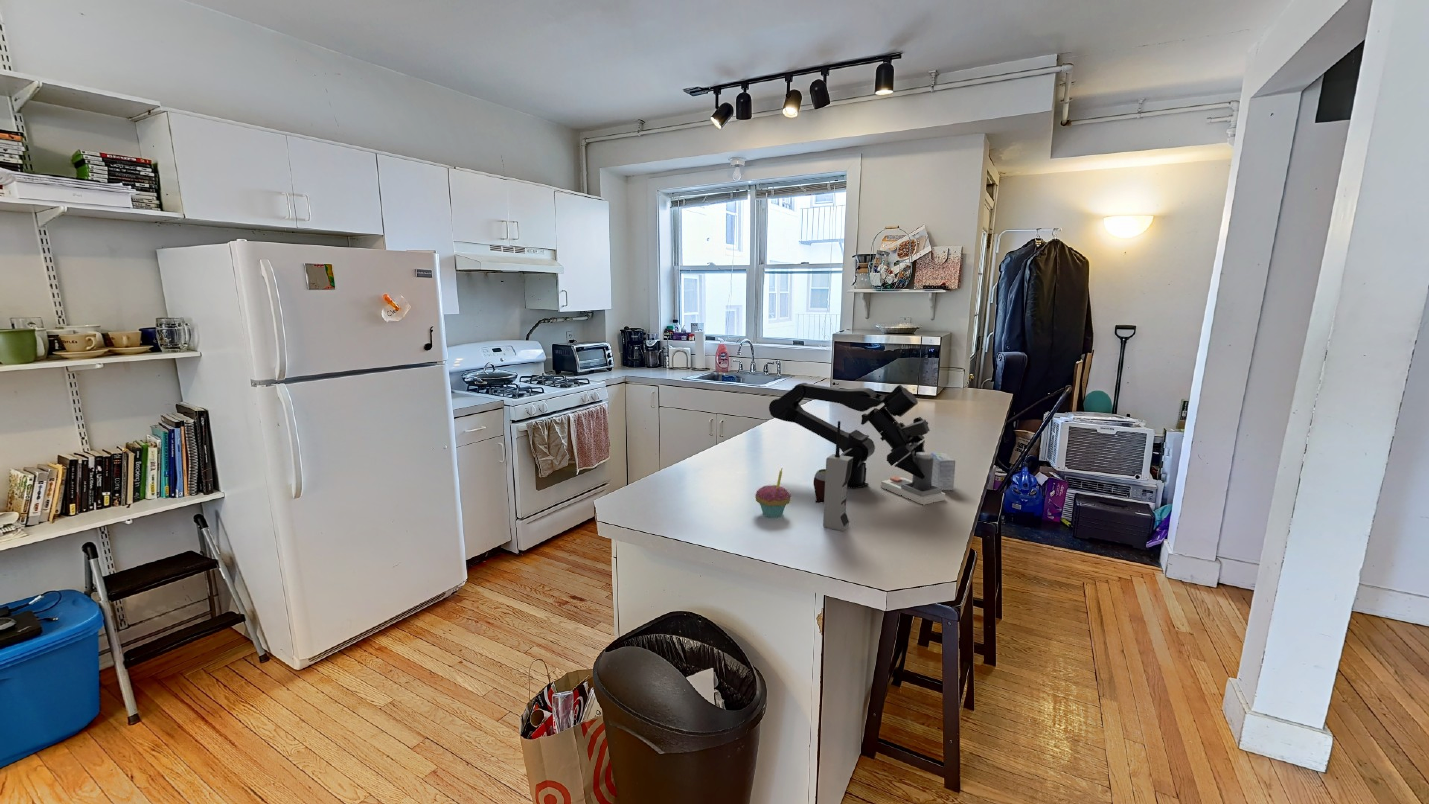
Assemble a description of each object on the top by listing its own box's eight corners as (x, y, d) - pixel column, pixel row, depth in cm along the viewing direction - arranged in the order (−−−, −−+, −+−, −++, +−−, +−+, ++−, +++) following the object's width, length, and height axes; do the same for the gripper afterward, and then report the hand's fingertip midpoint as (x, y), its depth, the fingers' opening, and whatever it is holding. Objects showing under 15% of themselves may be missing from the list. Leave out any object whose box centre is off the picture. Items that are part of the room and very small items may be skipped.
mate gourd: (808, 498, 150) (810, 442, 147) (834, 495, 152) (837, 441, 150) (821, 508, 143) (824, 450, 140) (849, 505, 146) (852, 448, 143)
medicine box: (953, 490, 157) (956, 460, 156) (937, 490, 157) (940, 460, 156) (942, 481, 165) (945, 452, 163) (927, 481, 165) (929, 452, 164)
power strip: (922, 504, 146) (923, 493, 146) (881, 487, 159) (881, 477, 159) (944, 500, 150) (945, 489, 149) (902, 483, 163) (902, 473, 162)
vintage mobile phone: (843, 532, 129) (849, 424, 124) (822, 527, 131) (827, 421, 127) (849, 526, 132) (855, 421, 127) (828, 522, 134) (834, 418, 130)
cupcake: (793, 510, 141) (794, 464, 139) (785, 523, 133) (787, 474, 131) (759, 506, 144) (760, 460, 142) (750, 518, 136) (751, 469, 134)
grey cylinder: (921, 494, 149) (924, 457, 147) (907, 489, 153) (910, 452, 151) (934, 491, 151) (937, 455, 149) (920, 486, 155) (923, 450, 153)
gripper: (902, 414, 142) (946, 464, 138) (919, 403, 158) (958, 447, 154) (869, 441, 147) (910, 489, 144) (888, 427, 163) (925, 471, 159)
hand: (927, 473), depth 150 cm, fingers open, 9 cm apart
